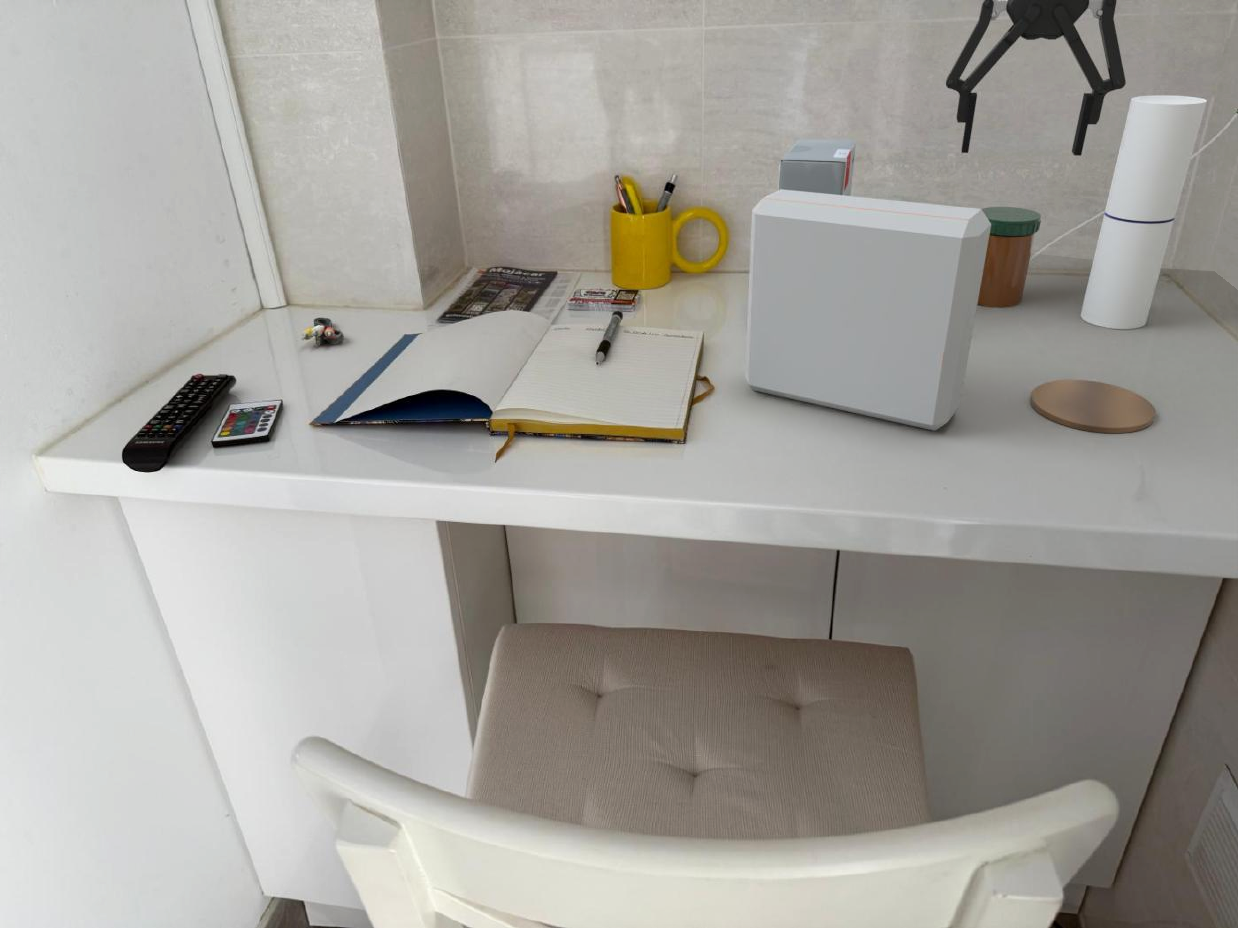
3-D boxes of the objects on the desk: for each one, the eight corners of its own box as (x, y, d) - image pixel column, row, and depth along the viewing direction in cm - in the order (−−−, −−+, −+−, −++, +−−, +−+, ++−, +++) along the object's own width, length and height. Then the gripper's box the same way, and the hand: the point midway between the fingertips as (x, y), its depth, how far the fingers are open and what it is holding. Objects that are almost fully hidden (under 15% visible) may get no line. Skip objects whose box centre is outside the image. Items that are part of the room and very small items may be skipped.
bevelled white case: (964, 406, 88) (1000, 204, 78) (941, 439, 82) (977, 225, 72) (771, 366, 98) (781, 183, 88) (738, 393, 92) (746, 200, 82)
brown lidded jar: (1019, 291, 117) (1035, 212, 112) (1023, 309, 111) (1039, 226, 106) (964, 288, 119) (977, 210, 114) (964, 305, 113) (978, 223, 108)
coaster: (1143, 390, 90) (1144, 385, 89) (1164, 439, 80) (1166, 433, 80) (1026, 380, 93) (1027, 374, 92) (1034, 425, 84) (1035, 420, 83)
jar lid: (1036, 222, 113) (1038, 208, 112) (1041, 238, 106) (1044, 223, 106) (972, 219, 115) (974, 205, 114) (973, 234, 109) (976, 220, 108)
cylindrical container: (1078, 324, 106) (1130, 103, 94) (1082, 305, 112) (1131, 94, 99) (1145, 332, 103) (1208, 105, 91) (1146, 313, 108) (1205, 96, 96)
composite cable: (314, 324, 115) (310, 306, 114) (351, 321, 116) (347, 303, 115) (302, 352, 107) (298, 333, 106) (343, 348, 107) (339, 329, 106)
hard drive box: (830, 330, 107) (845, 161, 97) (767, 325, 109) (776, 159, 99) (842, 291, 120) (857, 137, 110) (786, 287, 122) (795, 136, 112)
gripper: (1175, -60, 95) (1125, 149, 106) (941, -51, 102) (916, 144, 113) (1191, -61, 89) (1136, 161, 100) (940, -51, 96) (914, 155, 107)
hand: (1019, 152), depth 106 cm, fingers open, 12 cm apart
